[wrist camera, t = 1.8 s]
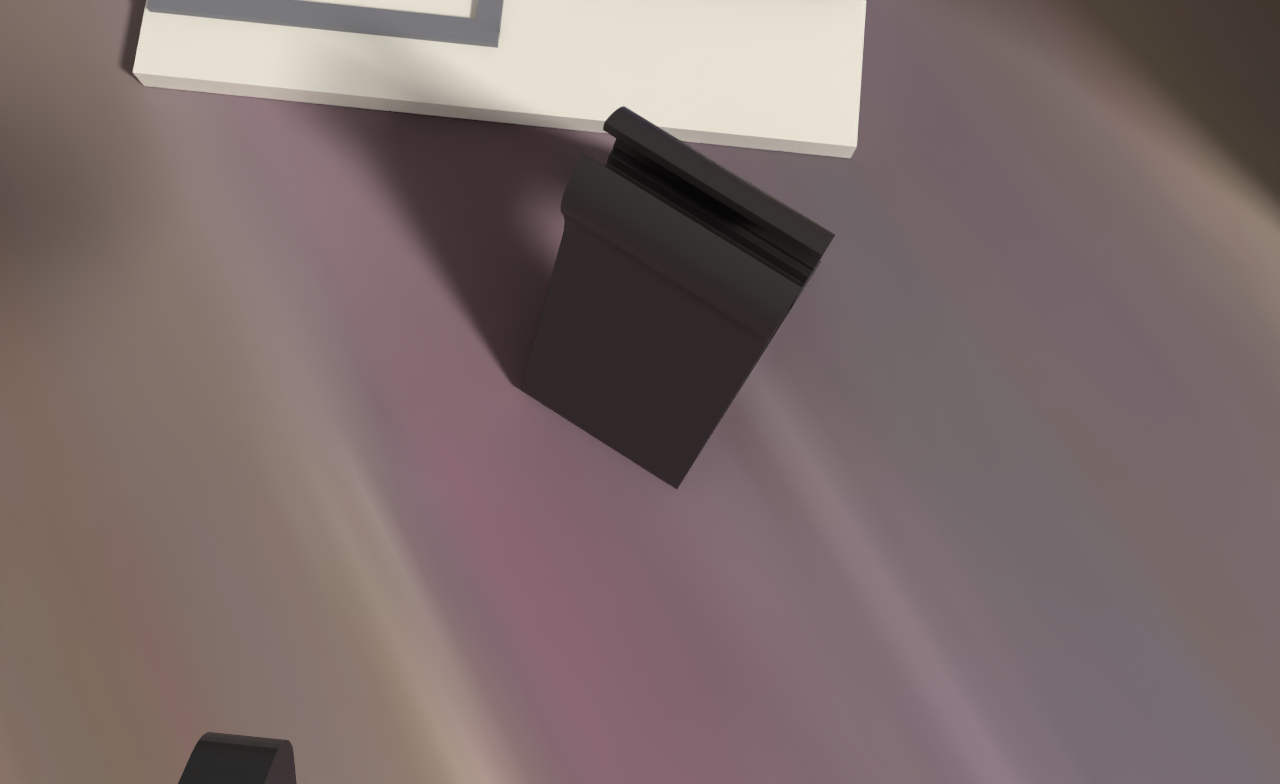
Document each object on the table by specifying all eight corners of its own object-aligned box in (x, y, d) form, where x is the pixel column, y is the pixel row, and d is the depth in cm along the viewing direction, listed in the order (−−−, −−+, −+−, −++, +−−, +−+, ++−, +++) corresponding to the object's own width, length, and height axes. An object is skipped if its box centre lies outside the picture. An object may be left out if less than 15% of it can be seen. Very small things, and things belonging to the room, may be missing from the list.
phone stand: (669, 172, 40) (696, -12, 29) (820, 265, 40) (911, 118, 28) (520, 391, 39) (484, 292, 27) (675, 491, 38) (707, 435, 27)
